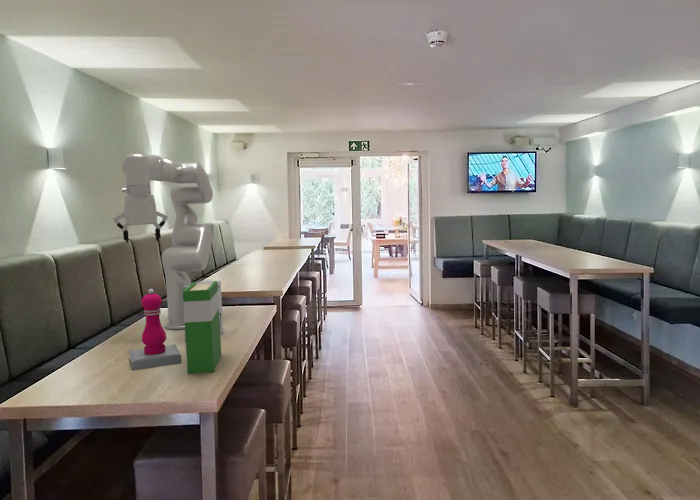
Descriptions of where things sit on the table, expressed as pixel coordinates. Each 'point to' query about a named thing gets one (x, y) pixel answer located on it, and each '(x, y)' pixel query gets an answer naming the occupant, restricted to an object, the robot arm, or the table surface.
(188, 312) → the hardback book
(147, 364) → the slate stand
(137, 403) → the table surface
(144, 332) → the pepper mill
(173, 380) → the table surface
